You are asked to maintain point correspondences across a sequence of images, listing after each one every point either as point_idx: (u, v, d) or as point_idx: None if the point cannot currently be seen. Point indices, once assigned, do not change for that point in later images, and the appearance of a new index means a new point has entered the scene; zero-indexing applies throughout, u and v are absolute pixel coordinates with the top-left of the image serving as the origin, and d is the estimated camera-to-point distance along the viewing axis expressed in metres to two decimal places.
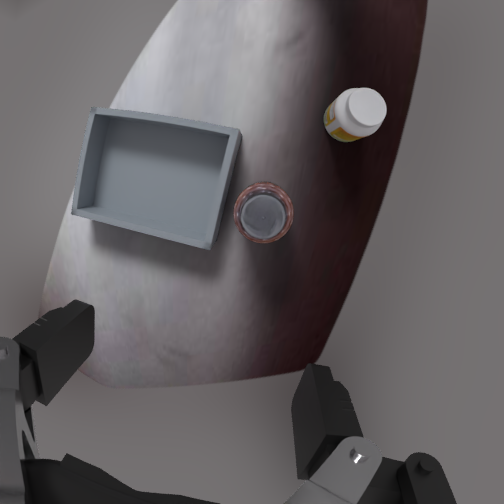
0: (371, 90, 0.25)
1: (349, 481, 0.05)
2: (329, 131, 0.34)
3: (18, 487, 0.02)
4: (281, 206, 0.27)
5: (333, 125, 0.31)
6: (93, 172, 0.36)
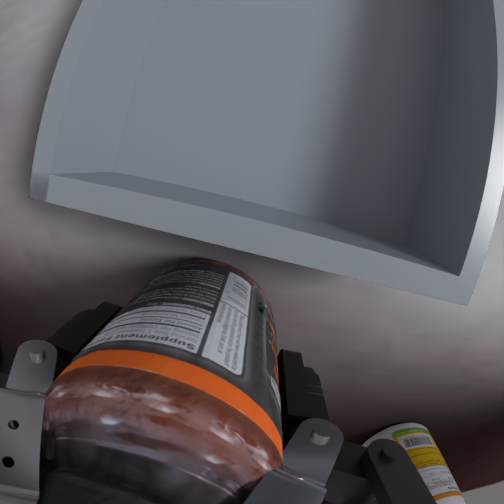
0: None
1: (314, 463, 0.05)
2: None
3: (18, 487, 0.02)
4: None
5: None
6: None
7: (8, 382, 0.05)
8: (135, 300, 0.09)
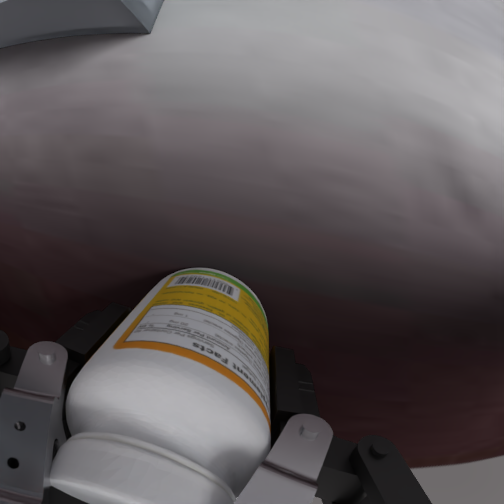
0: None
1: (304, 459, 0.06)
2: (154, 287, 0.11)
3: (18, 487, 0.02)
4: None
5: (130, 317, 0.08)
6: None
7: (17, 383, 0.05)
8: None
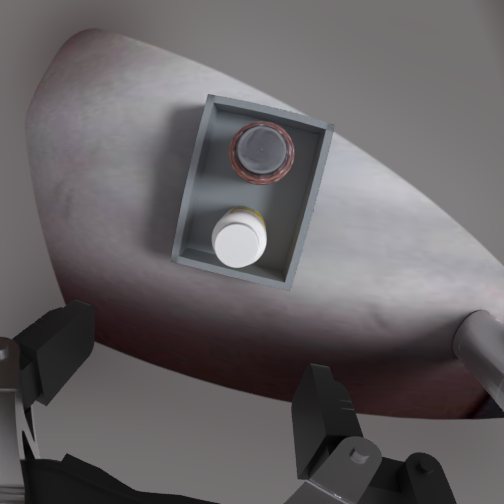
0: (256, 251, 0.28)
1: (349, 481, 0.05)
2: (228, 211, 0.35)
3: (18, 487, 0.02)
4: (273, 169, 0.24)
5: (227, 213, 0.32)
6: (256, 116, 0.32)
7: None
8: None
